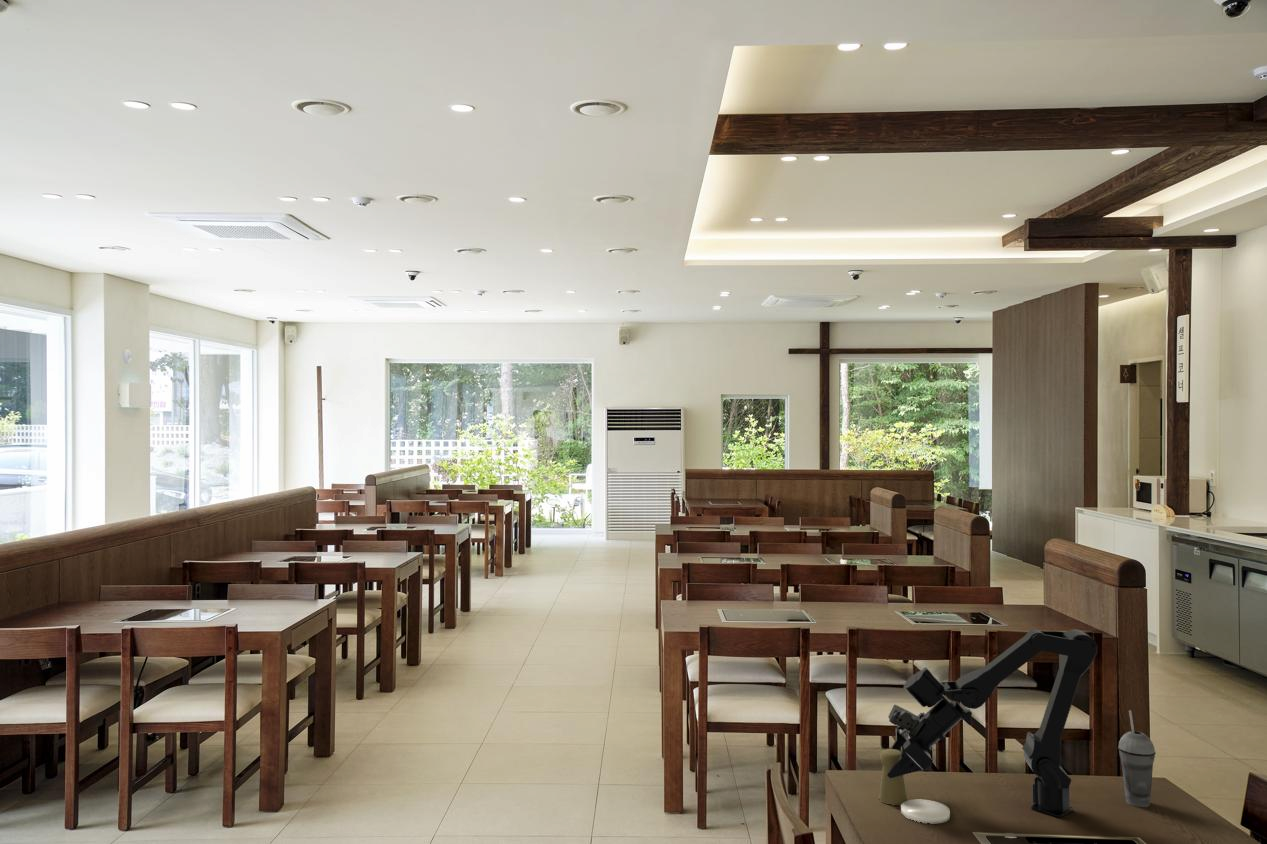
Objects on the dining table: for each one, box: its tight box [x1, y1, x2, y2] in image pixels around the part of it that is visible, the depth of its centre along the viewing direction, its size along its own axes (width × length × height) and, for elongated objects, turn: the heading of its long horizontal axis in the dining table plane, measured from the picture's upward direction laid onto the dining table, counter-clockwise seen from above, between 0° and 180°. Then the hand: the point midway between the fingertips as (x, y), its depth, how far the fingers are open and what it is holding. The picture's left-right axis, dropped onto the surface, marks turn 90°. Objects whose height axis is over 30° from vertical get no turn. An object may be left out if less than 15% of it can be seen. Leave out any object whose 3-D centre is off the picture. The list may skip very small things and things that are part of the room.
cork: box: [878, 748, 908, 806], centre depth 203 cm, size 6×6×11 cm
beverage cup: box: [1117, 710, 1157, 808], centre depth 200 cm, size 7×7×20 cm
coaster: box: [900, 798, 951, 825], centre depth 195 cm, size 10×10×1 cm
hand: (886, 769), depth 203 cm, fingers open, 9 cm apart
